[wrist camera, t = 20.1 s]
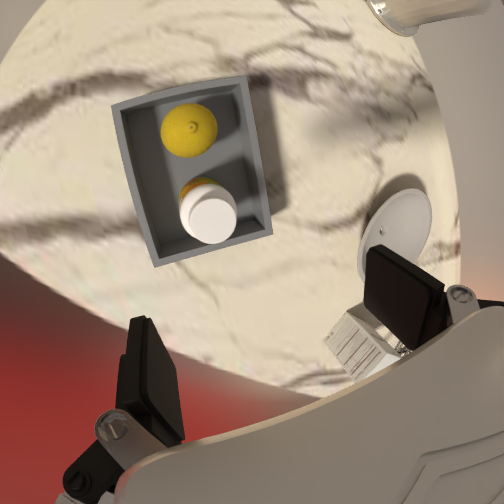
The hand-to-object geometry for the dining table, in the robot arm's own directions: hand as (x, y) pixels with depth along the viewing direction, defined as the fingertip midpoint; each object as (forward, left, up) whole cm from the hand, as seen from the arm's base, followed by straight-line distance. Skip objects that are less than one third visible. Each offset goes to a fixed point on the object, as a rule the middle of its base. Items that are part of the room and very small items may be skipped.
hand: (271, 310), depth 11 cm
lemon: (-8, 0, -23) cm, 24 cm away
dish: (+11, +27, -24) cm, 38 cm away
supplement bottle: (0, 0, -23) cm, 23 cm away
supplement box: (+30, +20, -24) cm, 43 cm away
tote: (-4, 0, -24) cm, 24 cm away
